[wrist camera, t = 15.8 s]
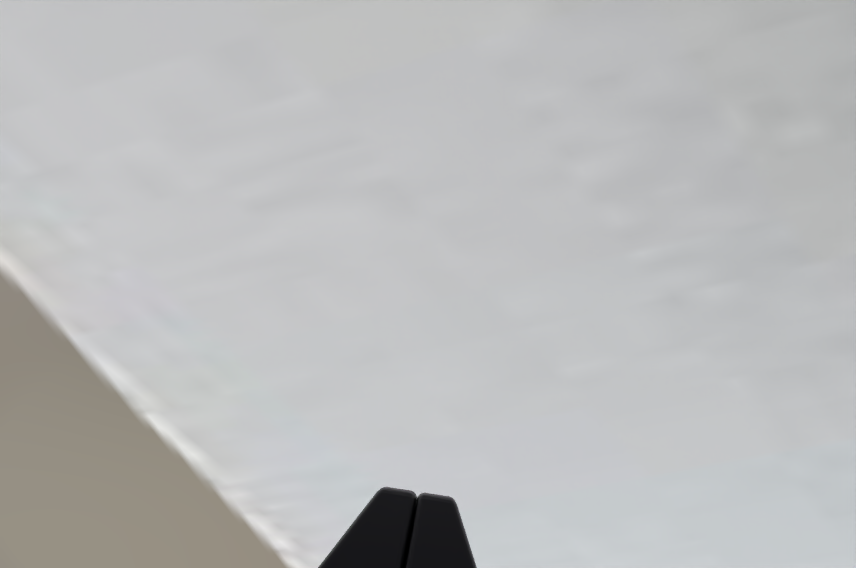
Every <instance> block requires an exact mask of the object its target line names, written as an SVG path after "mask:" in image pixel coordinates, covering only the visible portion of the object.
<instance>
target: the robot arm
mask: <svg viewBox="0 0 856 568" xmlns="http://www.w3.org/2000/svg"><path fill="white" fill-rule="evenodd" d="M318 568H477V567H476V564H475V561H474V558H473V554H472V551H471V548H470V545H469V542H468V539H467V535H466V532H465V529H464V526H463V523H462V519H461V516H460V513H459V510H458V507H457V504H456V502H455V500H454V499H453V498H451V497H449V496H442V495H436V494H429V493H422V494H420V495H419V496H418V498H417V496H416V494H415V493H414V492H413V491H410V490H403V489H397V488H390V487H383V488H381V489H380V490H379V491H378V492H377V493H376V494H375V495H374V496H373V498H372V499H371V500H370V502H369V503H368V504H367V505H366V507H365V508H364V509H363V511H362V512H361V513H360V514H359V516H358V517H357V518H356V520H355V521H354V522H353V523H352V525H351V526H350V527H349V529H348V530H347V531H346V533H345V534H344V535H343V536H342V538H341V539H340V540H339V542H338V543H337V544H336V545H335V547H334V548H333V549H332V551H331V552H330V553H329V554H328V556H327V557H326V558H325V560H324V561H323V562H322V563H321V565H320V566H319V567H318Z"/></svg>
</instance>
